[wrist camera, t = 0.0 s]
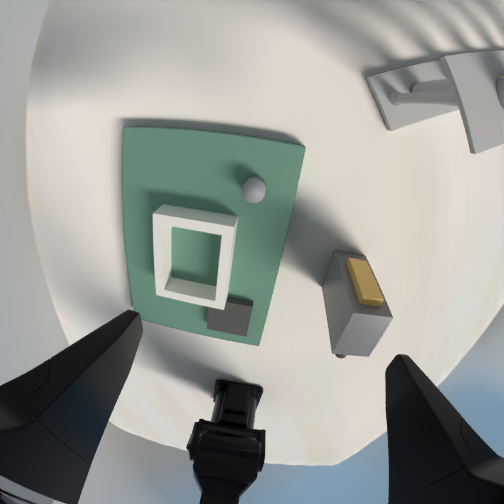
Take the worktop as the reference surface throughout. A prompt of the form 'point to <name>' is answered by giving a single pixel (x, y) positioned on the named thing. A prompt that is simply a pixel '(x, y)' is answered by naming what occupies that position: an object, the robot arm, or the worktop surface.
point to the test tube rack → (447, 94)
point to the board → (206, 226)
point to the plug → (354, 306)
